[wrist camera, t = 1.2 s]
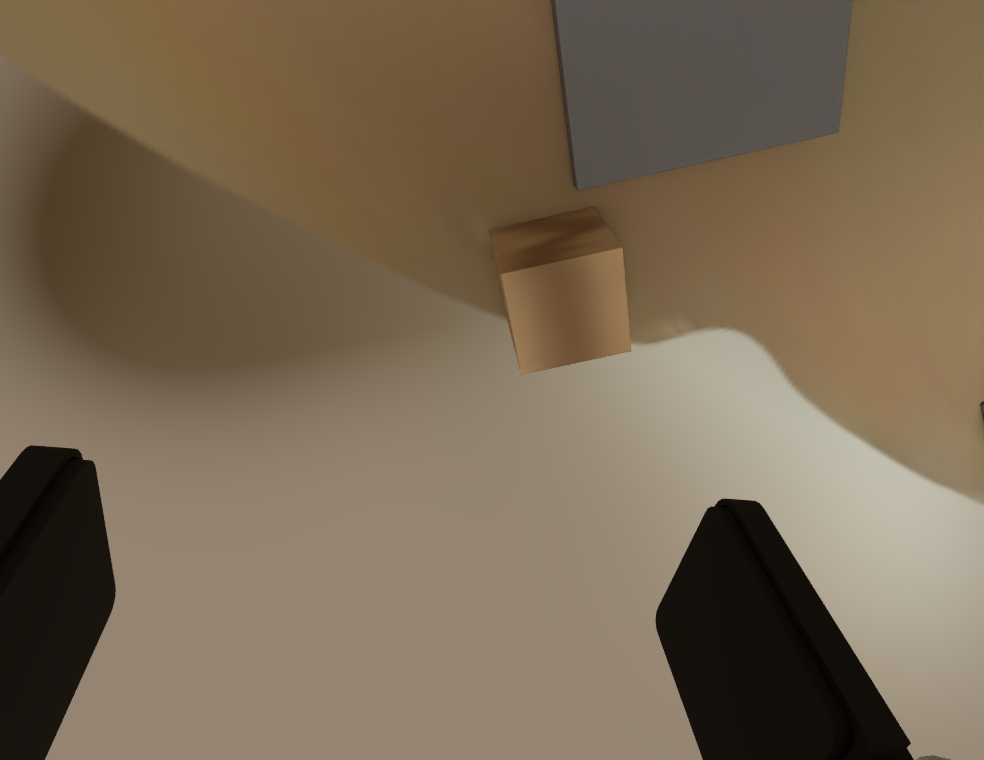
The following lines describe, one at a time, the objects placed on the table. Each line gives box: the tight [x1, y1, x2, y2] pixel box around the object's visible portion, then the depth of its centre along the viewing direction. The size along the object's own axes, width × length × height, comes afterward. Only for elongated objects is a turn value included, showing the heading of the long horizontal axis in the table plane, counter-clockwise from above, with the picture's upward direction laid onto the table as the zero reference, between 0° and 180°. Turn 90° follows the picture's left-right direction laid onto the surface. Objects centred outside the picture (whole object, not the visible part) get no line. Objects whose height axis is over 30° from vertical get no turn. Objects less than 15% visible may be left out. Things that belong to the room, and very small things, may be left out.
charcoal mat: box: [551, 0, 852, 190], centre depth 32 cm, size 14×13×1 cm
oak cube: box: [489, 207, 631, 375], centre depth 36 cm, size 6×6×6 cm
